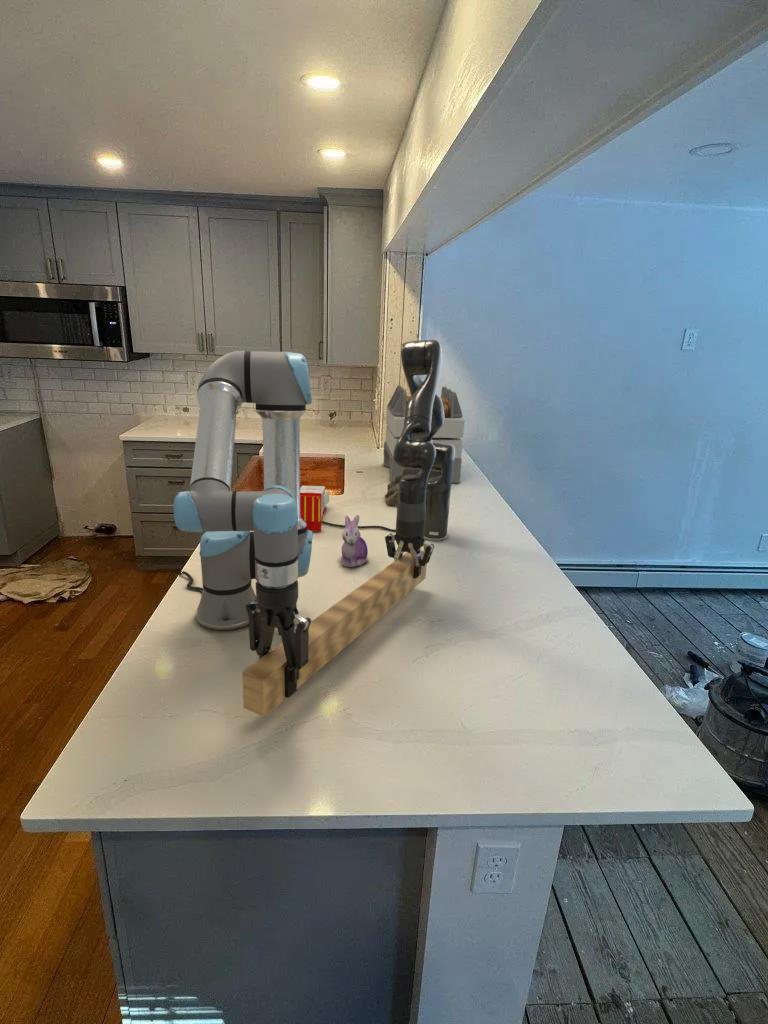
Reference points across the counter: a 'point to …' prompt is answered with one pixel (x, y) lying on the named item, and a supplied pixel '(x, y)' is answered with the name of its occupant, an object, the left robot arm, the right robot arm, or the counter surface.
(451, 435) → the transformer
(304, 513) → the toy
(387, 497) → the fossil
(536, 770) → the counter surface
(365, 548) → the figurine
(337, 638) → the post
